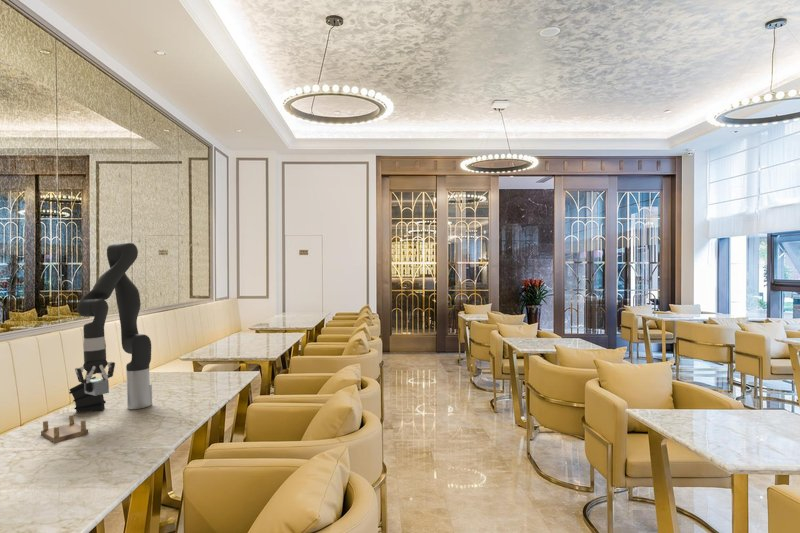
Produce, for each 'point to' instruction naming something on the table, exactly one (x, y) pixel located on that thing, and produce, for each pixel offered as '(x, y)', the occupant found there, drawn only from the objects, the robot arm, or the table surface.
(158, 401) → the table surface
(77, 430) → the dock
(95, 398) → the black ribbed wedge
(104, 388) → the grey rectangular block
